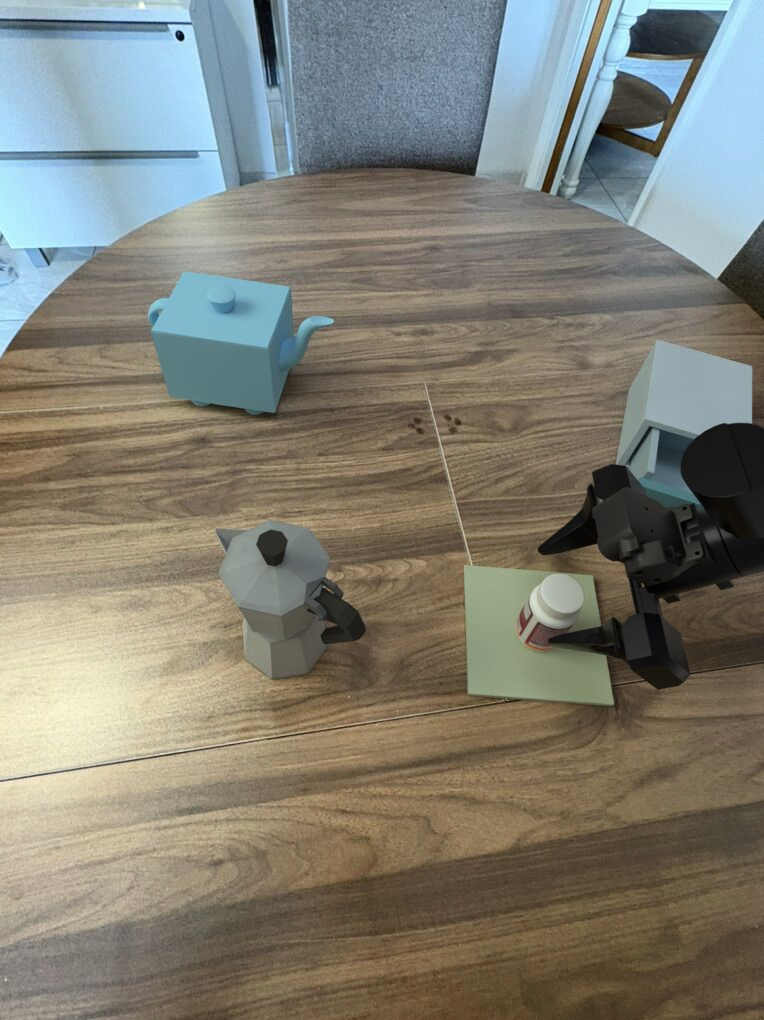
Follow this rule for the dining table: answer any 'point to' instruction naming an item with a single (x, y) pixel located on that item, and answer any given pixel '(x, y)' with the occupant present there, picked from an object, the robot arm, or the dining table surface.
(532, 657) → the mat
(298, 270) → the dining table surface
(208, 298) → the teapot
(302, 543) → the coffee maker
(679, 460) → the drawer
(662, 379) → the pale grey hollow box
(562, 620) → the pill bottle
